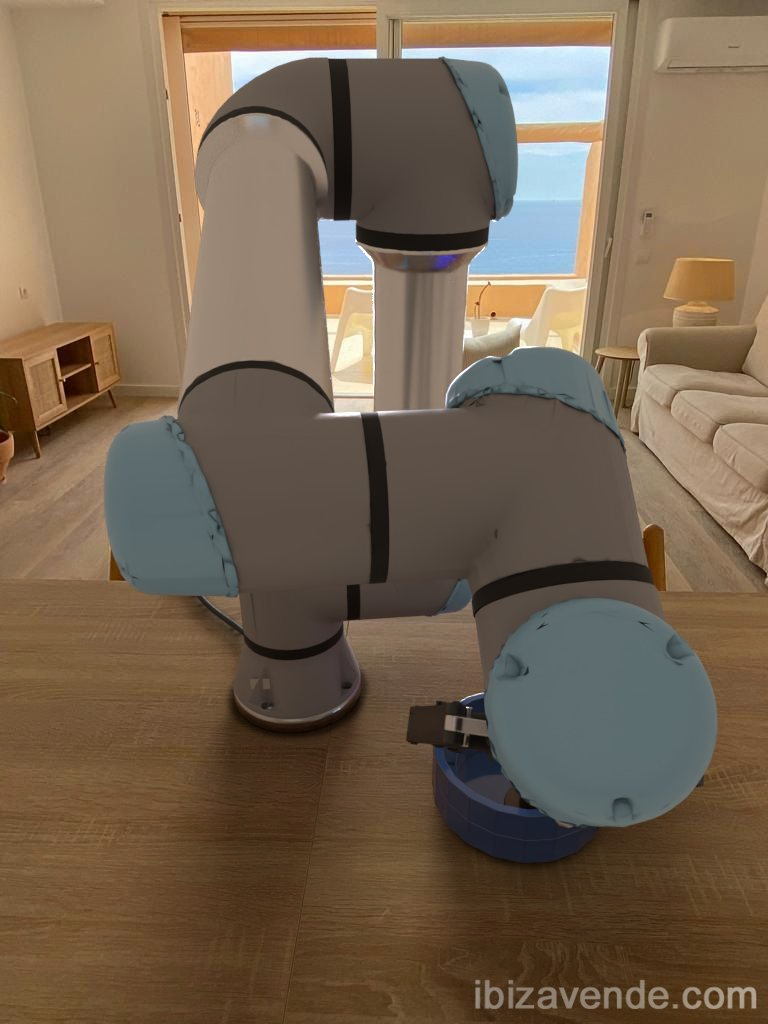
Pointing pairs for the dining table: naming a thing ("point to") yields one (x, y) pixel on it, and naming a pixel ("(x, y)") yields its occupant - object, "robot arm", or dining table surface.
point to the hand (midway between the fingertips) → (543, 748)
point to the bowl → (496, 808)
